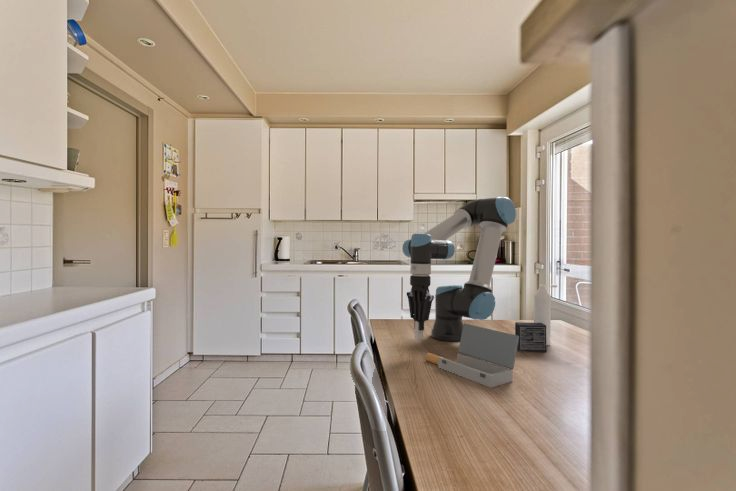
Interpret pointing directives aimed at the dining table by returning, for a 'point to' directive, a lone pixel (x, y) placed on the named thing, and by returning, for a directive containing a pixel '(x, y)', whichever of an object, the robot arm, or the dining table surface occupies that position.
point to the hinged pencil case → (477, 370)
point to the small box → (531, 336)
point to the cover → (489, 345)
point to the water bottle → (543, 309)
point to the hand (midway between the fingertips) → (418, 338)
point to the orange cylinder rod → (432, 358)
